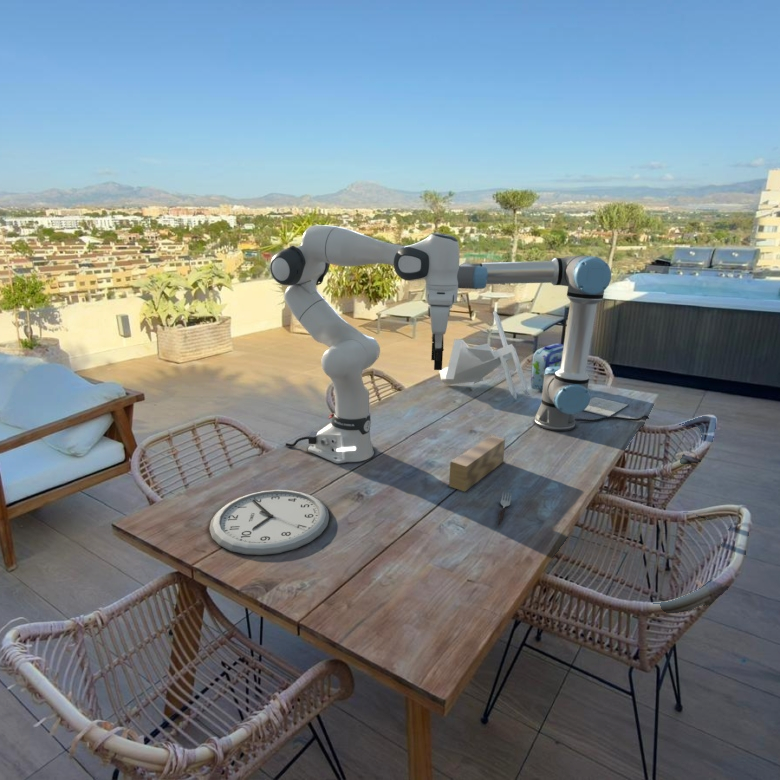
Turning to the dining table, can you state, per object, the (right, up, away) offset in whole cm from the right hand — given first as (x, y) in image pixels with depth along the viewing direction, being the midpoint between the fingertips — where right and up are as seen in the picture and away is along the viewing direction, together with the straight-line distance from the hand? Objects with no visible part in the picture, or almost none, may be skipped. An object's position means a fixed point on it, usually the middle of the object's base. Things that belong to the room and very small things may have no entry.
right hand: (436, 364), depth 187 cm
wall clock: (-47, -43, -52) cm, 82 cm away
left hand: (-3, +4, -39) cm, 39 cm away
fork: (+14, -42, -46) cm, 64 cm away
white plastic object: (+25, -10, +56) cm, 62 cm away
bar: (+11, -35, -24) cm, 44 cm away
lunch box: (+61, -8, +65) cm, 89 cm away
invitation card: (+75, -16, +39) cm, 86 cm away
